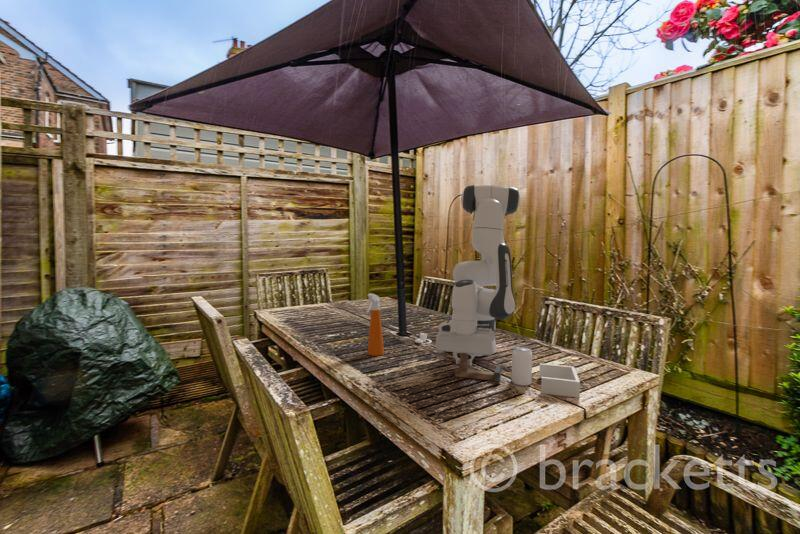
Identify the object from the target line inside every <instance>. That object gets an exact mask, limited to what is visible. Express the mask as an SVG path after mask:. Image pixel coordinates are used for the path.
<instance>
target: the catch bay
mask: <svg viewBox="0 0 800 534" xmlns="http://www.w3.org/2000/svg"><path fill="white" fill-rule="evenodd" d="M538 378H539V379H541V380H540V381H541V384H540V385H541V386H540V392H541V393H540V394H546V395H555V396H562V397H569V398H577V399H580V397H581V396H580V394H581V393H580V391H581V381H580V379H579V378H580V377H579V375H578V373H577V370H576V368H575V366H570V365H562V364H560V365H559V364H550V363H541V362H540V363H539V375H538Z"/></svg>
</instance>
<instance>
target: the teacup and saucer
mask: <svg viewBox="0 0 800 534" xmlns="http://www.w3.org/2000/svg"><path fill="white" fill-rule="evenodd" d="M426 340H427V342H426ZM414 342H415V343H417V344H422V345H425V344H431V343H432V340H431V339H428V333H426V332H419V338H417V339H415V340H414Z"/></svg>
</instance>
